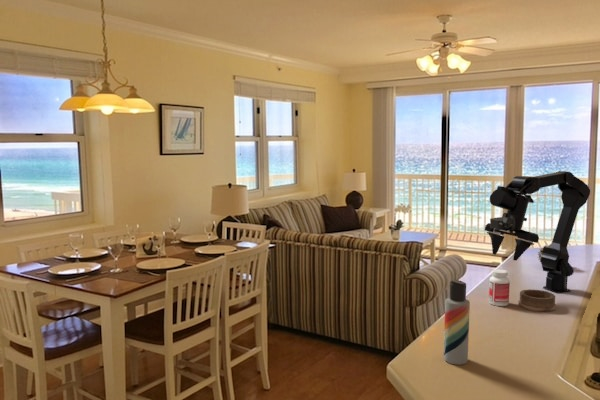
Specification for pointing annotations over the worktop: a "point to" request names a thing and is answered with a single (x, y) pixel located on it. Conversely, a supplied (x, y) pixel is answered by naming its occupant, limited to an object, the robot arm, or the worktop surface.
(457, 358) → the lotion bottle
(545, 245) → the pine cone
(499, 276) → the pill bottle
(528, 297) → the collar stand
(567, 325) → the worktop surface
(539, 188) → the robot arm
